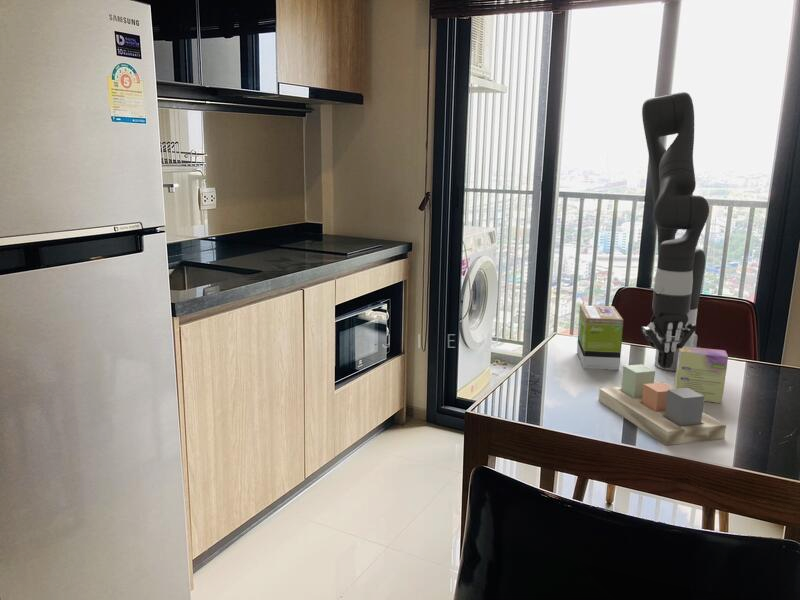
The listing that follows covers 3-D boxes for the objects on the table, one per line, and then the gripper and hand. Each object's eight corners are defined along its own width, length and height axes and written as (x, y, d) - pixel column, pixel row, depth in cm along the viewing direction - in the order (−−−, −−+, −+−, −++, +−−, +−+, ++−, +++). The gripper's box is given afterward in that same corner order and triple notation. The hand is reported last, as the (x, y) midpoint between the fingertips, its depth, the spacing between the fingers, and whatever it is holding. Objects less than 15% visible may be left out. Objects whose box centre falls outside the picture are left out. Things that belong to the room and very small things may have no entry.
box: (719, 395, 160) (725, 349, 157) (722, 404, 155) (728, 356, 152) (673, 390, 163) (678, 344, 161) (674, 398, 158) (680, 351, 156)
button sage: (639, 390, 156) (641, 364, 154) (652, 397, 151) (655, 371, 150) (620, 391, 155) (623, 365, 153) (633, 399, 150) (636, 372, 148)
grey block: (684, 416, 141) (687, 387, 139) (700, 425, 136) (704, 396, 135) (664, 418, 140) (667, 389, 138) (680, 427, 135) (683, 398, 133)
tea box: (575, 352, 193) (579, 303, 190) (610, 354, 192) (615, 305, 188) (582, 369, 178) (586, 316, 175) (620, 371, 177) (625, 318, 174)
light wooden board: (649, 395, 160) (650, 383, 159) (724, 438, 136) (726, 425, 135) (598, 400, 156) (599, 388, 155) (666, 445, 132) (668, 431, 132)
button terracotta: (660, 409, 149) (662, 382, 147) (674, 417, 144) (677, 390, 143) (640, 411, 147) (643, 384, 146) (654, 420, 143) (658, 392, 141)
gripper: (686, 284, 144) (678, 359, 149) (635, 288, 141) (628, 364, 145) (711, 291, 137) (702, 369, 141) (657, 295, 134) (649, 375, 138)
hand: (664, 367), depth 143 cm, fingers closed
